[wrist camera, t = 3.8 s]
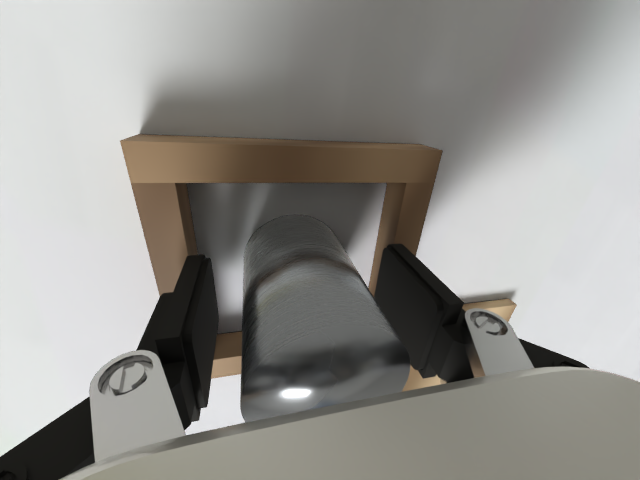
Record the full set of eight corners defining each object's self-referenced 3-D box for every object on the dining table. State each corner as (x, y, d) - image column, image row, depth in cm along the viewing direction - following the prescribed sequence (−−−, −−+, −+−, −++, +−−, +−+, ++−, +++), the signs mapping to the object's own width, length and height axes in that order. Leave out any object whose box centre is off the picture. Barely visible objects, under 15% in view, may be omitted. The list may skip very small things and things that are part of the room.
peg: (344, 213, 12) (428, 315, 6) (335, 293, 14) (393, 424, 8) (240, 216, 11) (232, 340, 5) (246, 301, 13) (245, 457, 7)
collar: (420, 144, 11) (442, 150, 10) (379, 329, 16) (391, 350, 15) (138, 134, 9) (119, 140, 8) (188, 355, 14) (182, 383, 12)
